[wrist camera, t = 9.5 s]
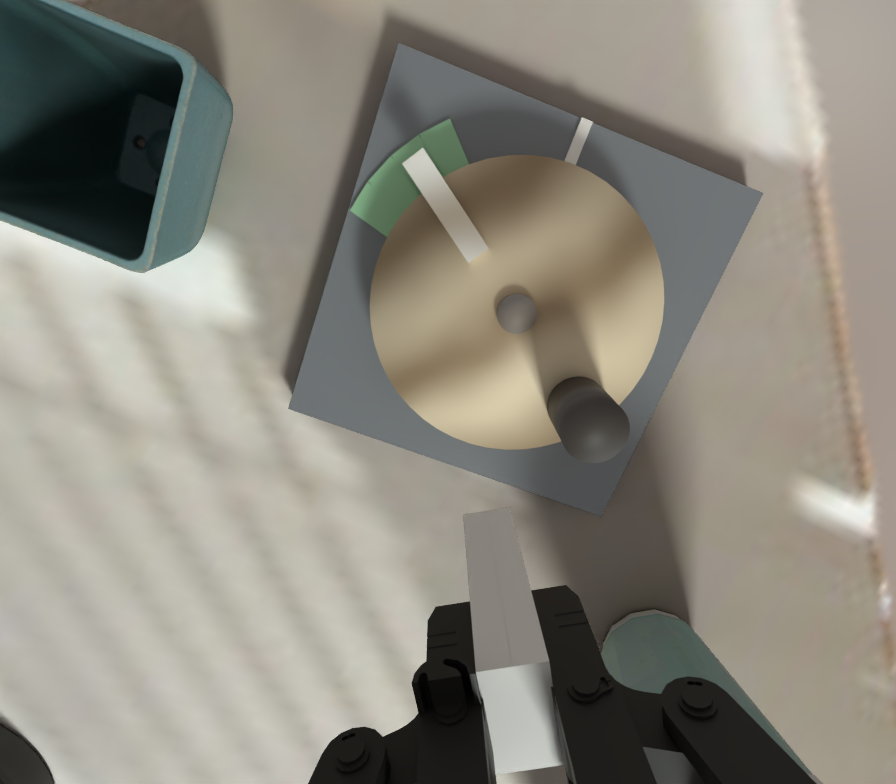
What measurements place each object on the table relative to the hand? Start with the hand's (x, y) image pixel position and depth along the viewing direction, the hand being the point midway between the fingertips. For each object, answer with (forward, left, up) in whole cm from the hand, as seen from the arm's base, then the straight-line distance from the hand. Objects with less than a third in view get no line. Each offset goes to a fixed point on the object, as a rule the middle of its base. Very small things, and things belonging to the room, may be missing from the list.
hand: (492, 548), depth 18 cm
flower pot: (-20, +7, -17) cm, 27 cm away
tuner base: (0, +6, -16) cm, 17 cm away
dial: (-1, +6, -15) cm, 16 cm away
